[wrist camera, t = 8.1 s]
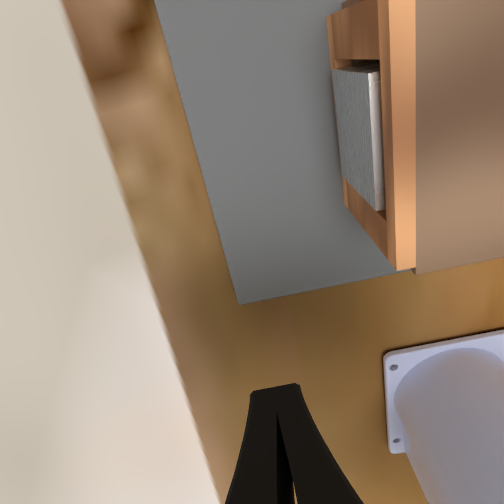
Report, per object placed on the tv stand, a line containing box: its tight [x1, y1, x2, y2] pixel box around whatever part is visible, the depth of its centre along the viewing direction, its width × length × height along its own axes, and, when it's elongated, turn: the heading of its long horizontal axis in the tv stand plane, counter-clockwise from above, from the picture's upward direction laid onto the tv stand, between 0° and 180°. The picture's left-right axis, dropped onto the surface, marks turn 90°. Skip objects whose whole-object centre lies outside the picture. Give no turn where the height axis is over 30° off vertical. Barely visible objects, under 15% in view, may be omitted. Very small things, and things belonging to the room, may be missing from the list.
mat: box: [154, 0, 411, 305], centre depth 16 cm, size 16×17×1 cm
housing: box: [326, 0, 504, 275], centre depth 12 cm, size 8×9×6 cm
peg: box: [332, 59, 386, 211], centre depth 12 cm, size 4×8×4 cm, turn 102°
